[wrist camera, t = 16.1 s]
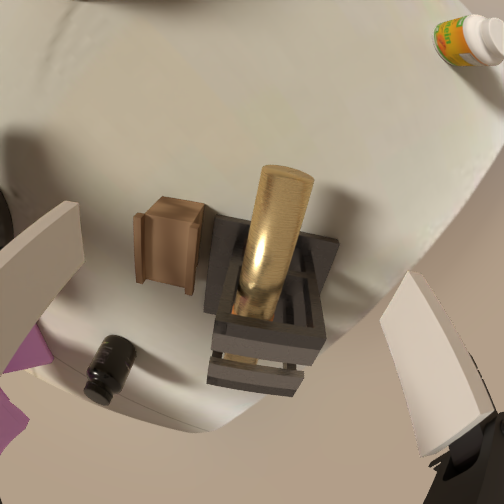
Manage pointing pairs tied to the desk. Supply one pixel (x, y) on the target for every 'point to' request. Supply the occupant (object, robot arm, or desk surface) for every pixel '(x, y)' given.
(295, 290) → the collar stand
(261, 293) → the air tube
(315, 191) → the desk surface
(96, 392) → the supplement bottle
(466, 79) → the desk surface
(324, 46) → the desk surface
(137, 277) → the block
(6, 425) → the pink table lamp
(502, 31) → the supplement bottle
